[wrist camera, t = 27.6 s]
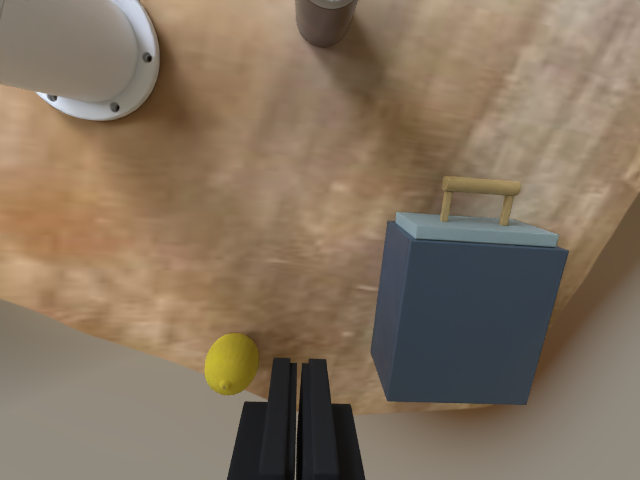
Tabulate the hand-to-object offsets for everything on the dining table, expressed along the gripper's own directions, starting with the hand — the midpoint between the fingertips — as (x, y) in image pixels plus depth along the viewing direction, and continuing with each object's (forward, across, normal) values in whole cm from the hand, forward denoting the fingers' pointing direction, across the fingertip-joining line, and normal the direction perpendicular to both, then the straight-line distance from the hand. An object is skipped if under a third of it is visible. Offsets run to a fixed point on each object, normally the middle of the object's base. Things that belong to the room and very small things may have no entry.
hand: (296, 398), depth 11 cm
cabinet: (+27, -17, +8) cm, 33 cm away
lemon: (+27, +6, +15) cm, 32 cm away
